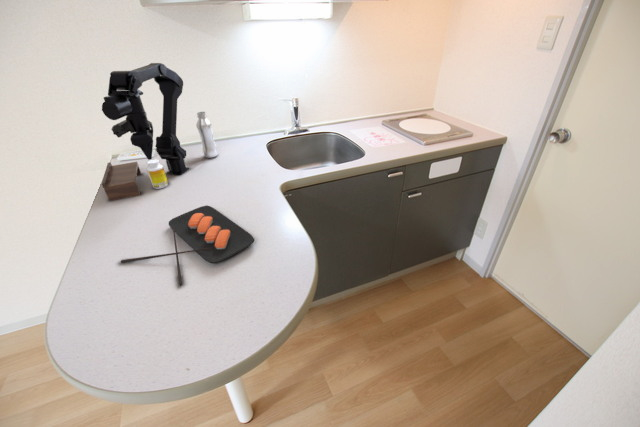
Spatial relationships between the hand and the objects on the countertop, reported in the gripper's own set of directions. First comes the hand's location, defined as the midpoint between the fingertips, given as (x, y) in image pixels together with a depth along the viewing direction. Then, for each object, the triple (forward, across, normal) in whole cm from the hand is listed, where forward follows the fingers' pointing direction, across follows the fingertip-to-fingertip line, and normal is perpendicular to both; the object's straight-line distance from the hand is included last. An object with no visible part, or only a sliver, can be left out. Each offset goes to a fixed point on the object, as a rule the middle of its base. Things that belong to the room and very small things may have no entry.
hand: (150, 154), depth 113 cm
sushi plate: (+13, +44, +6) cm, 47 cm away
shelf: (+13, -6, -12) cm, 19 cm away
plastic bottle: (+13, -21, +22) cm, 33 cm away
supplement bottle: (+13, 0, 0) cm, 13 cm away
